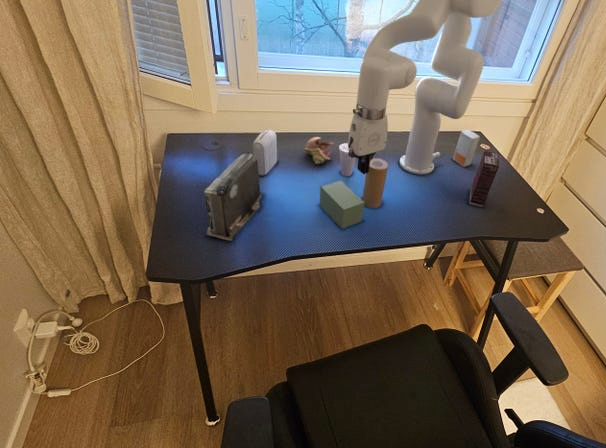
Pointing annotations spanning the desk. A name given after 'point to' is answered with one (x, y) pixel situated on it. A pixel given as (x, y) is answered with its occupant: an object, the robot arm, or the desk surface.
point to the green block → (341, 204)
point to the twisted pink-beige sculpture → (318, 149)
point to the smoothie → (346, 160)
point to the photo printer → (265, 151)
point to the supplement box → (484, 178)
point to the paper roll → (375, 183)
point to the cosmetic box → (466, 147)
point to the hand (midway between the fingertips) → (362, 171)
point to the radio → (233, 197)
